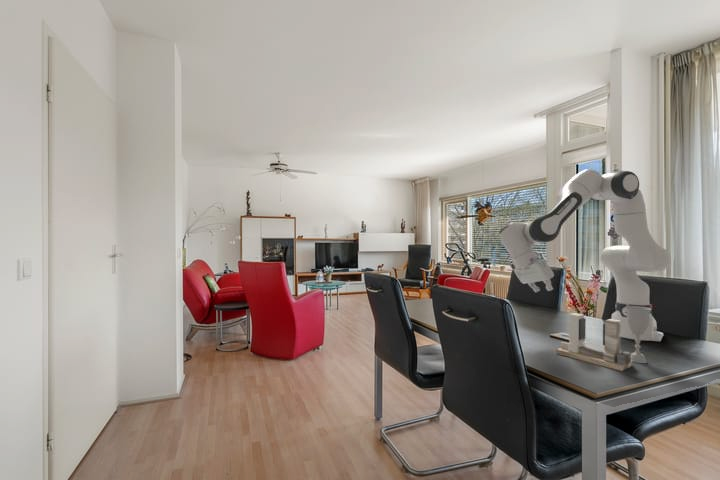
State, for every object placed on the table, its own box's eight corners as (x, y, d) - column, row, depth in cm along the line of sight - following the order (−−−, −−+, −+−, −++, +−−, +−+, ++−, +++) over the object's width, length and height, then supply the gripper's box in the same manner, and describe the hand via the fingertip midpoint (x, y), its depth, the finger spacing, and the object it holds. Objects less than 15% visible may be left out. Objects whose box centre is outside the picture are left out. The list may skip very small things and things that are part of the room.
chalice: (619, 357, 122) (619, 305, 122) (637, 356, 123) (638, 305, 123) (637, 364, 115) (637, 309, 115) (656, 364, 115) (657, 309, 115)
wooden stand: (567, 349, 130) (567, 310, 130) (631, 366, 113) (632, 321, 113) (556, 353, 125) (556, 313, 125) (621, 371, 109) (622, 324, 109)
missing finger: (575, 348, 126) (576, 312, 126) (586, 350, 123) (587, 314, 123) (567, 350, 123) (568, 314, 123) (578, 353, 120) (579, 316, 120)
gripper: (546, 252, 132) (566, 285, 130) (520, 260, 152) (537, 288, 150) (532, 260, 132) (552, 293, 129) (508, 266, 152) (525, 295, 149)
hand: (544, 290), depth 140 cm, fingers open, 8 cm apart
